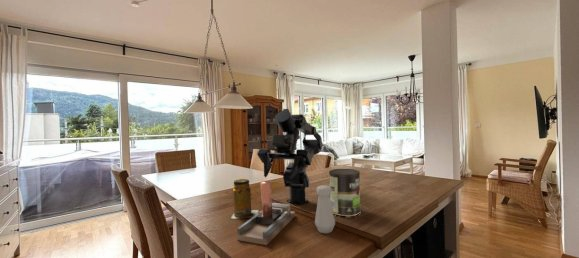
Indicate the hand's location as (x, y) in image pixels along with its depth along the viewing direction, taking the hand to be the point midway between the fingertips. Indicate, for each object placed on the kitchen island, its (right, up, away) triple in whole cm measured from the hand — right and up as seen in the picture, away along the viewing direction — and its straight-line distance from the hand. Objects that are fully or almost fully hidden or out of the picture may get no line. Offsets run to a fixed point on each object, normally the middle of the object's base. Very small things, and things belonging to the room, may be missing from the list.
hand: (277, 177), depth 83 cm
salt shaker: (+14, -14, -10) cm, 22 cm away
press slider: (-2, -12, -6) cm, 14 cm away
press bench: (-2, -14, -6) cm, 15 cm away
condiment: (-11, -14, +5) cm, 19 cm away
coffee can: (+23, -13, +4) cm, 27 cm away
